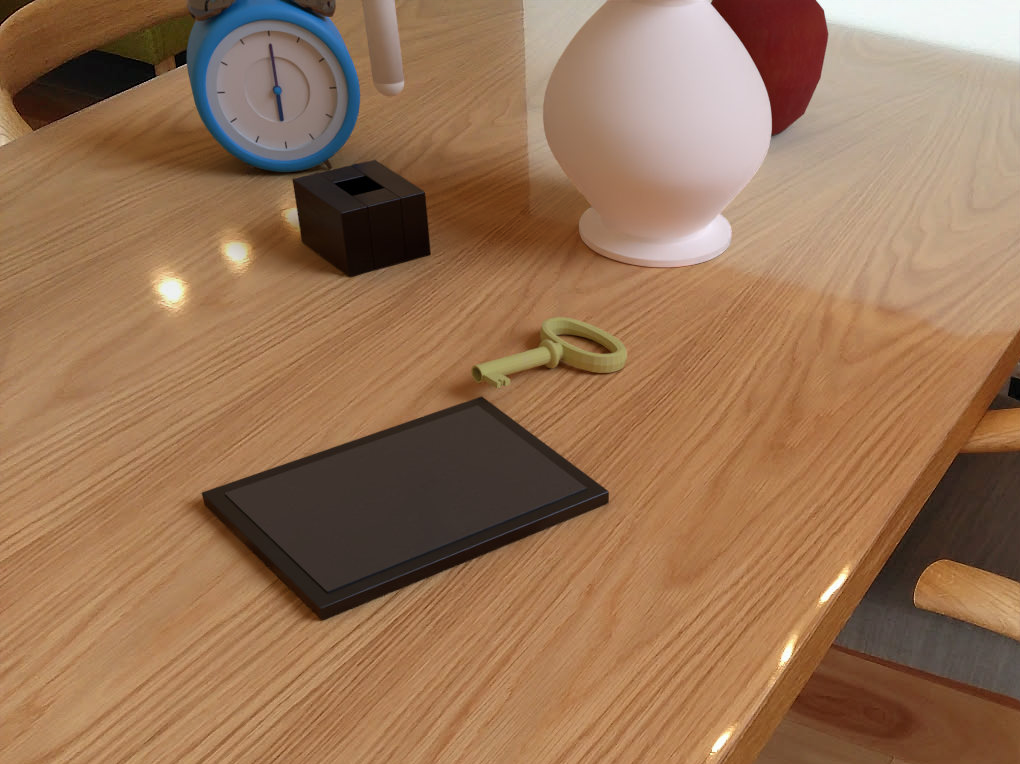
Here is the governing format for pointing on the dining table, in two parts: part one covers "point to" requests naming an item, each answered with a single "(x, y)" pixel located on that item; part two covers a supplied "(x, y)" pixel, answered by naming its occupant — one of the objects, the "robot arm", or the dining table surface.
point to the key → (556, 353)
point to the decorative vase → (657, 128)
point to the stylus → (384, 46)
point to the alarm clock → (272, 80)
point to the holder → (362, 217)
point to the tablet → (402, 504)
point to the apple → (781, 49)
